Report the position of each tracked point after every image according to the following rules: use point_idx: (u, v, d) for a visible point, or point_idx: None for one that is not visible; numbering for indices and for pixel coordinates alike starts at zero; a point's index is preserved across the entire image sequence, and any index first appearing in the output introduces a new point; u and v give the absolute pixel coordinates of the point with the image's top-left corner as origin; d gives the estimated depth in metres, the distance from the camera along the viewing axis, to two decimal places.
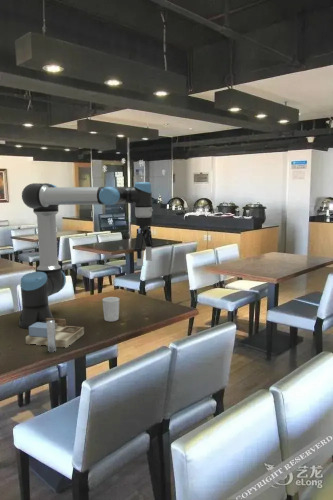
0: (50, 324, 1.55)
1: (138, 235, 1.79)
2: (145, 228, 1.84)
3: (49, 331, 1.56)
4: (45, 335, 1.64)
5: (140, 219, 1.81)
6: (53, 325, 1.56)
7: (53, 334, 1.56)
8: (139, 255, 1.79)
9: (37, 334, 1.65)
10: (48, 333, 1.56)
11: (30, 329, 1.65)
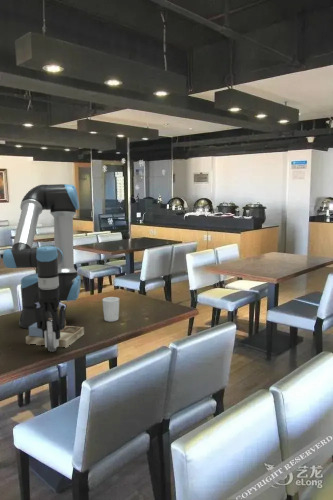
0: (50, 324, 1.55)
1: None
2: (45, 301, 1.55)
3: (49, 330, 1.56)
4: None
5: None
6: None
7: None
8: None
9: (37, 334, 1.65)
10: (48, 332, 1.56)
11: (30, 329, 1.65)
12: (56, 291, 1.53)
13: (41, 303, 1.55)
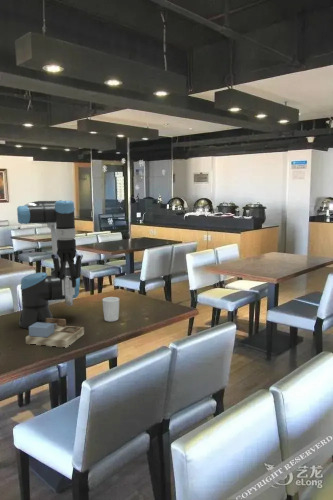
0: (67, 280, 1.68)
1: None
2: (62, 251, 1.67)
3: (67, 286, 1.68)
4: (45, 335, 1.64)
5: None
6: None
7: None
8: None
9: (37, 334, 1.65)
10: (65, 288, 1.69)
11: (30, 329, 1.65)
12: (73, 242, 1.65)
13: (59, 253, 1.67)
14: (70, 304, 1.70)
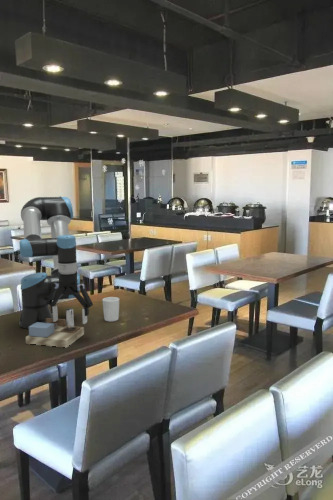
0: (69, 312, 1.70)
1: None
2: (64, 285, 1.69)
3: (68, 319, 1.70)
4: (45, 335, 1.64)
5: None
6: (72, 313, 1.71)
7: (72, 321, 1.71)
8: None
9: (37, 334, 1.65)
10: (67, 320, 1.71)
11: (30, 329, 1.65)
12: (75, 276, 1.68)
13: (61, 287, 1.70)
14: None
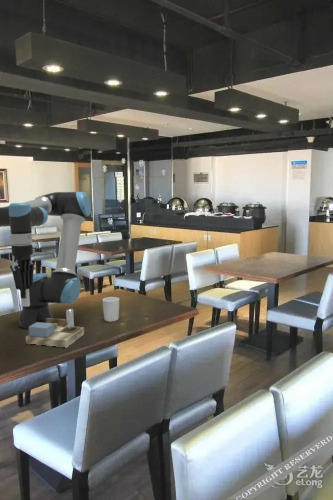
0: (69, 312, 1.70)
1: (14, 273, 1.49)
2: (23, 258, 1.52)
3: (68, 319, 1.70)
4: (45, 335, 1.64)
5: (15, 248, 1.49)
6: (72, 313, 1.71)
7: (72, 321, 1.71)
8: (22, 294, 1.53)
9: (37, 334, 1.65)
10: (67, 320, 1.71)
11: (30, 329, 1.65)
12: None
13: (21, 262, 1.50)
14: None
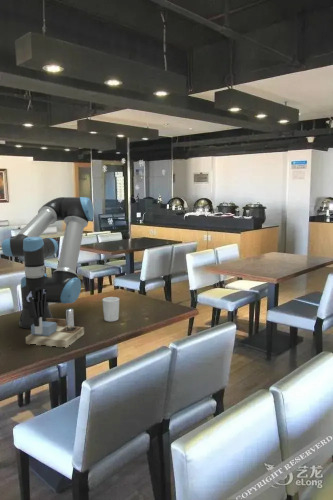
0: (69, 312, 1.70)
1: (29, 304, 1.59)
2: (37, 289, 1.61)
3: (68, 319, 1.70)
4: (47, 334, 1.65)
5: (29, 280, 1.59)
6: (72, 313, 1.71)
7: (72, 321, 1.71)
8: (36, 323, 1.63)
9: None
10: (67, 320, 1.71)
11: (32, 328, 1.67)
12: None
13: (34, 293, 1.60)
14: None
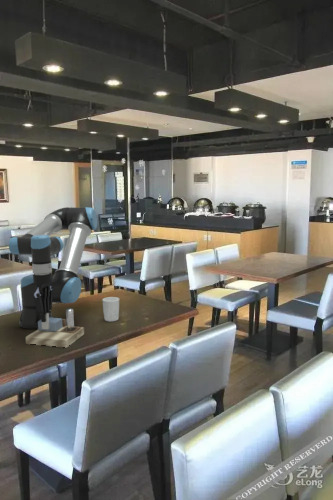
0: (69, 312, 1.70)
1: (36, 300, 1.64)
2: (44, 286, 1.66)
3: (68, 319, 1.70)
4: (54, 329, 1.70)
5: (36, 277, 1.64)
6: (72, 313, 1.71)
7: (72, 321, 1.71)
8: (43, 318, 1.68)
9: None
10: (67, 320, 1.71)
11: (39, 324, 1.72)
12: None
13: (42, 289, 1.65)
14: None
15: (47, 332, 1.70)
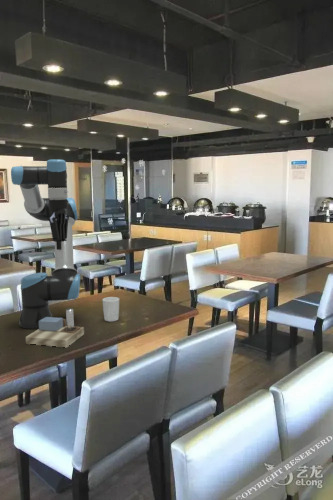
0: (69, 312, 1.70)
1: (52, 225, 1.60)
2: (59, 212, 1.63)
3: (68, 319, 1.70)
4: (54, 329, 1.71)
5: (52, 201, 1.60)
6: (72, 313, 1.71)
7: (72, 321, 1.71)
8: (58, 246, 1.65)
9: (47, 328, 1.72)
10: (67, 320, 1.71)
11: (40, 323, 1.72)
12: None
13: (57, 214, 1.62)
14: None
15: (47, 332, 1.70)
